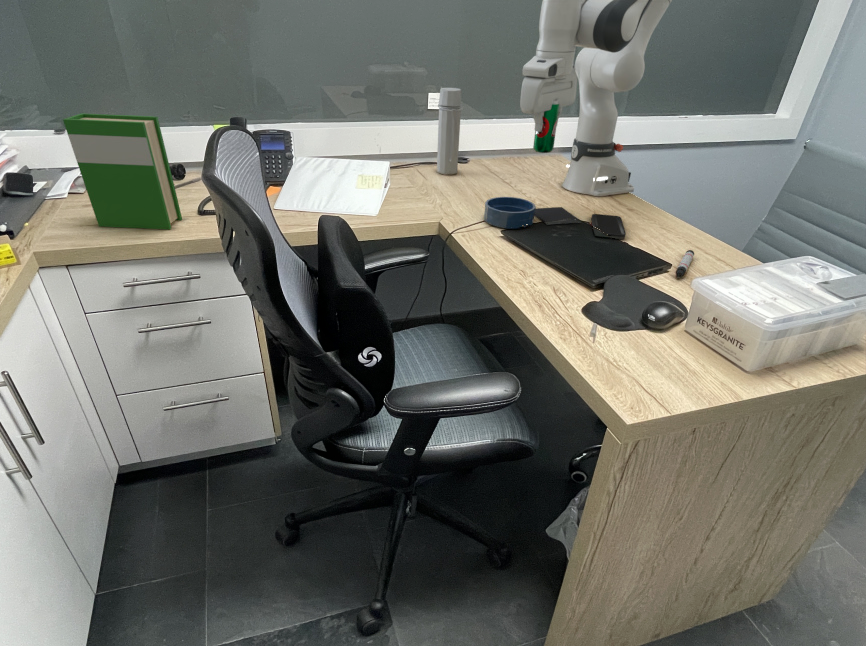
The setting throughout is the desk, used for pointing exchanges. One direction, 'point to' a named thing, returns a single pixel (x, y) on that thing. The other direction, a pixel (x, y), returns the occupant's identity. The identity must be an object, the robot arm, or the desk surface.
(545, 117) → the soda can
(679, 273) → the marker
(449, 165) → the water bottle
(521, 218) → the dish
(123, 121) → the hardback book
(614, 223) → the phone
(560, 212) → the black flat square pad
